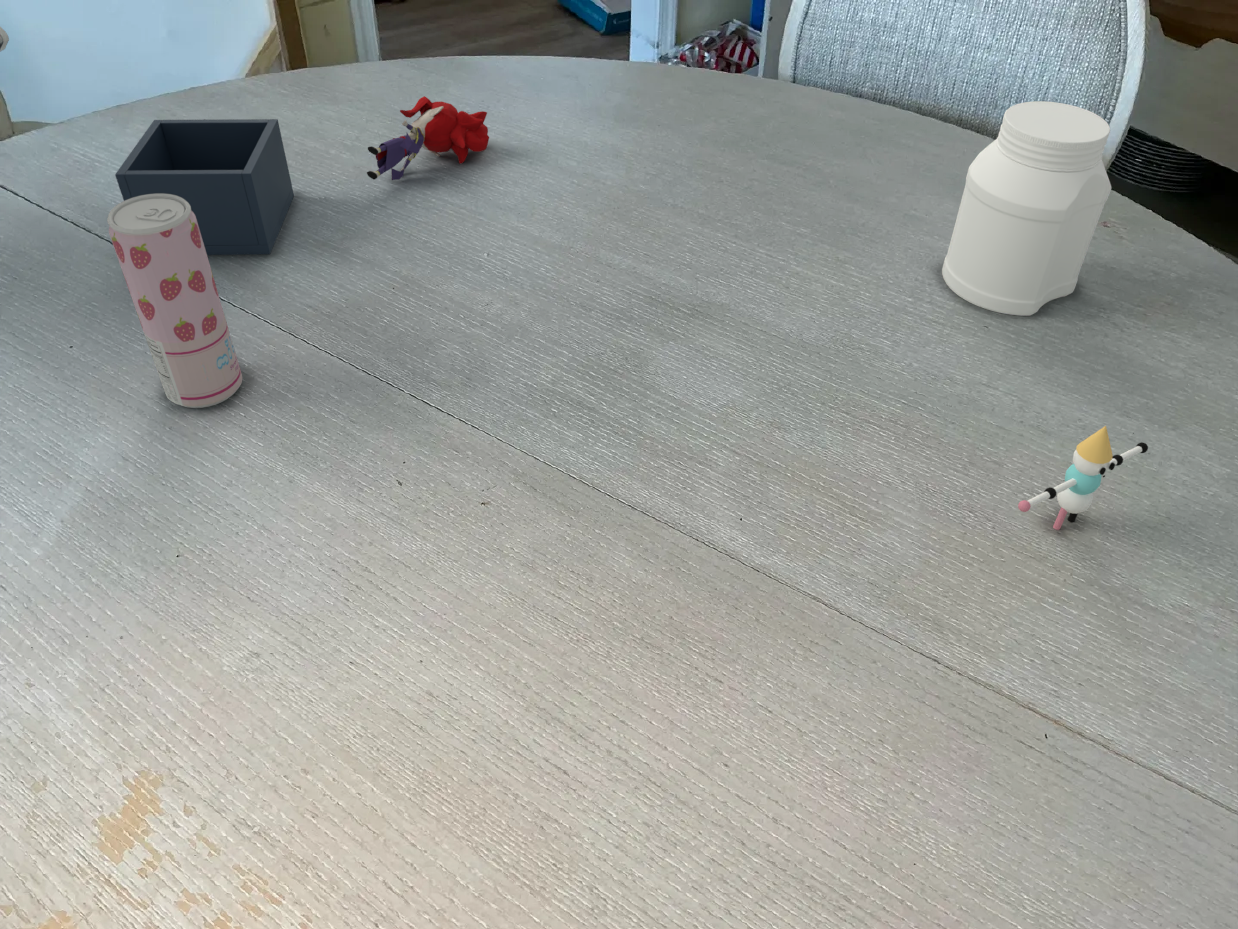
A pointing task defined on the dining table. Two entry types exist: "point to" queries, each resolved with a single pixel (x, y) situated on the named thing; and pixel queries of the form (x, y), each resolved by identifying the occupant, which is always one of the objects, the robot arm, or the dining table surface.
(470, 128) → the figurine
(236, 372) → the beverage can
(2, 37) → the robot arm
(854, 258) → the dining table surface
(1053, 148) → the jar
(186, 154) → the bin
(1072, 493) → the toy figure
